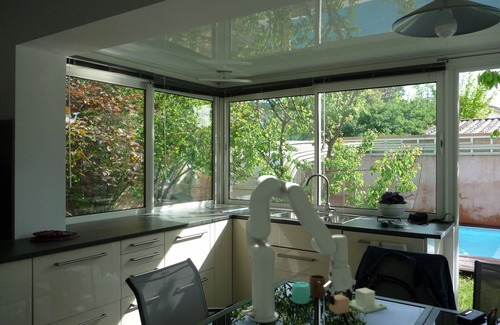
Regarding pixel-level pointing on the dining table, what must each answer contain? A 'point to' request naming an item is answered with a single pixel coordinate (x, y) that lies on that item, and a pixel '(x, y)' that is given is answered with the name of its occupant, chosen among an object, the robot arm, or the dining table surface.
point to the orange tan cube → (340, 304)
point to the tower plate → (367, 309)
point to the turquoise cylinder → (300, 293)
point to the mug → (317, 286)
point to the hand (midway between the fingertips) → (340, 302)
